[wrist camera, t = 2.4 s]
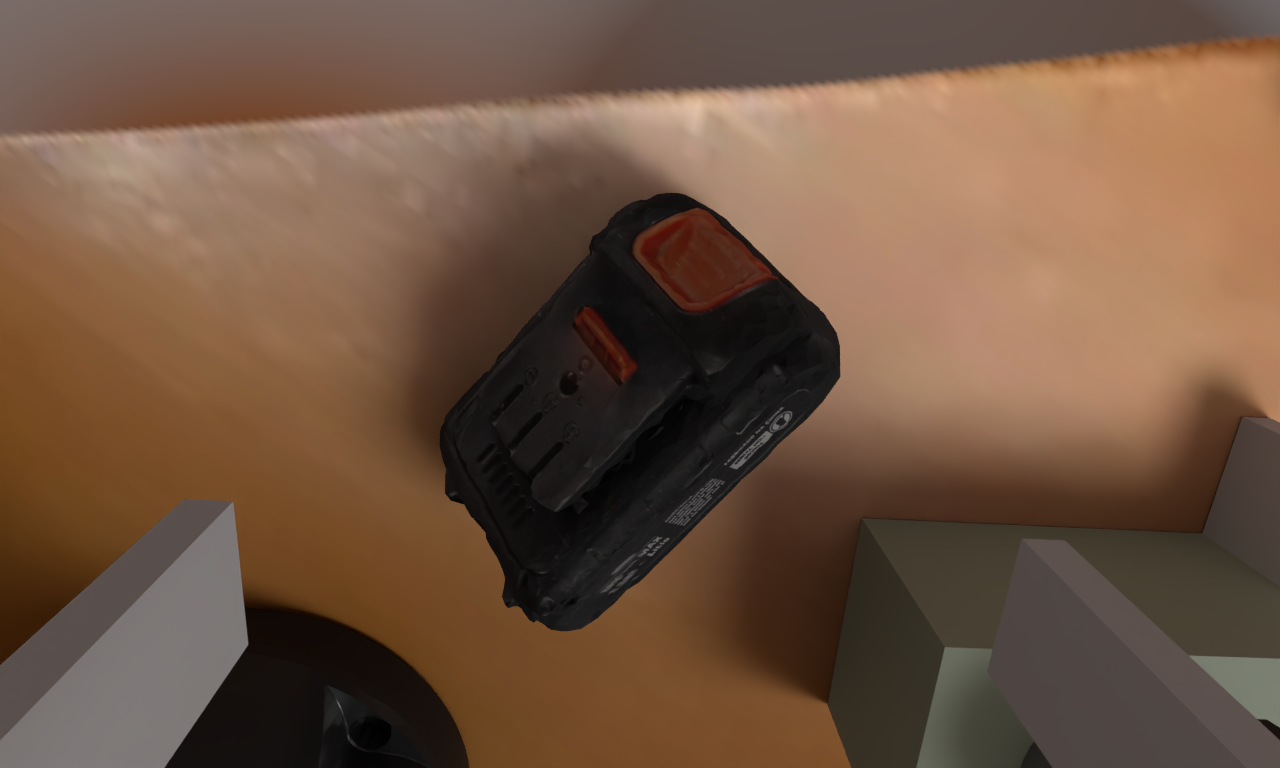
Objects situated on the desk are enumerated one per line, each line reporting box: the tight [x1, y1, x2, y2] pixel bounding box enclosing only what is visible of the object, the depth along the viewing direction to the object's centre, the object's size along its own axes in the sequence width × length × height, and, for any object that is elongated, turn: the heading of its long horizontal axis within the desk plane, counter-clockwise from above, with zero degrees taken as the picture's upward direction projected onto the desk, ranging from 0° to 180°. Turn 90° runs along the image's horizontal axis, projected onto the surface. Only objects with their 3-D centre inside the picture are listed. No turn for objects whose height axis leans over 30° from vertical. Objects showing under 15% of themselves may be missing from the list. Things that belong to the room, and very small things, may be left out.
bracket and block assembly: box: [827, 417, 1280, 768], centre depth 21 cm, size 14×26×11 cm, turn 176°
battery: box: [440, 193, 840, 631], centre depth 22 cm, size 12×8×7 cm
